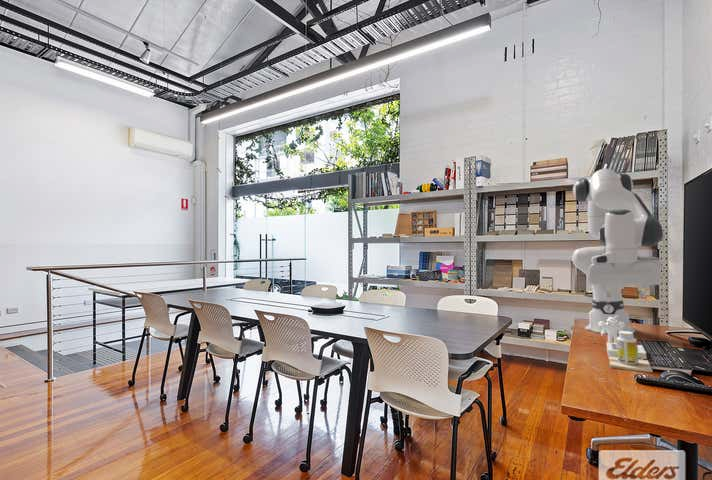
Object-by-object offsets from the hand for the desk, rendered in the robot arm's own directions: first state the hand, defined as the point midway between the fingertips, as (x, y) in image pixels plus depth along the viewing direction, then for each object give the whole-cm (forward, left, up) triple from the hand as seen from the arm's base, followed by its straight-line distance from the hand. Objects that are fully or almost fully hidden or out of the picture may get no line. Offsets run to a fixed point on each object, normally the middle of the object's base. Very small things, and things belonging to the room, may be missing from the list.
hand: (624, 297), depth 126 cm
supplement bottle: (0, 0, -22) cm, 22 cm away
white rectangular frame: (-13, 0, -23) cm, 26 cm away
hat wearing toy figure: (-26, -3, -23) cm, 35 cm away
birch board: (0, 0, -23) cm, 23 cm away
